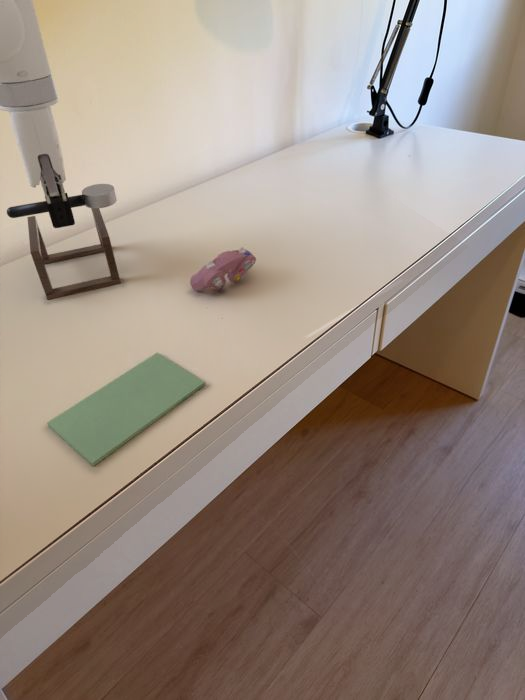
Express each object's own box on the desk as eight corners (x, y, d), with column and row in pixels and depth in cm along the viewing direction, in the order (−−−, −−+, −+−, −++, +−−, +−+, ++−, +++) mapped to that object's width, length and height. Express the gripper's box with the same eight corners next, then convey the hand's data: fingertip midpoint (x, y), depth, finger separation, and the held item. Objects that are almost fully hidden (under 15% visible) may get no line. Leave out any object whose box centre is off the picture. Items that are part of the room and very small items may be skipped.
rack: (47, 299, 80) (30, 253, 75) (42, 260, 90) (27, 216, 85) (120, 283, 83) (109, 236, 78) (108, 246, 93) (97, 203, 88)
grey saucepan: (8, 225, 76) (4, 211, 74) (8, 212, 79) (4, 199, 78) (119, 205, 80) (116, 192, 79) (114, 194, 83) (111, 181, 82)
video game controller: (203, 306, 79) (211, 278, 74) (186, 285, 81) (192, 255, 75) (253, 282, 84) (264, 254, 78) (236, 261, 85) (246, 232, 80)
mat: (93, 466, 55) (92, 463, 54) (47, 425, 59) (46, 422, 59) (205, 385, 64) (204, 381, 63) (157, 355, 68) (157, 352, 68)
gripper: (-4, 84, 74) (36, 208, 85) (-6, 110, 62) (41, 249, 74) (51, 78, 76) (83, 200, 87) (59, 101, 64) (95, 239, 76)
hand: (63, 222), depth 81 cm, fingers closed on grey saucepan, 1 cm apart
